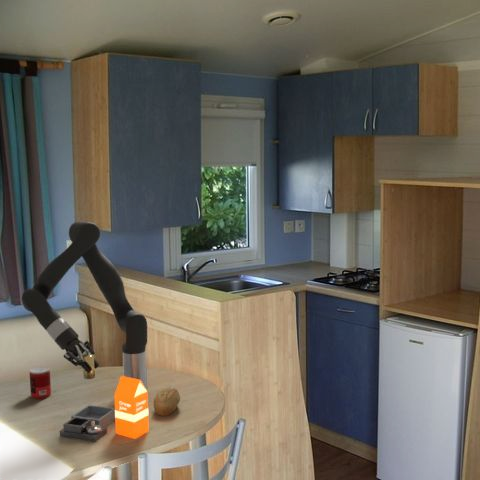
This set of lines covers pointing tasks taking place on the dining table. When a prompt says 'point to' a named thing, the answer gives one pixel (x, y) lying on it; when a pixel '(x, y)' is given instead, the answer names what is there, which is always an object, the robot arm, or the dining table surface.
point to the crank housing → (82, 429)
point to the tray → (97, 414)
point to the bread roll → (166, 401)
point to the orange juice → (131, 408)
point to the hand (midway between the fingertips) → (93, 368)
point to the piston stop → (90, 360)
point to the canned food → (40, 382)
